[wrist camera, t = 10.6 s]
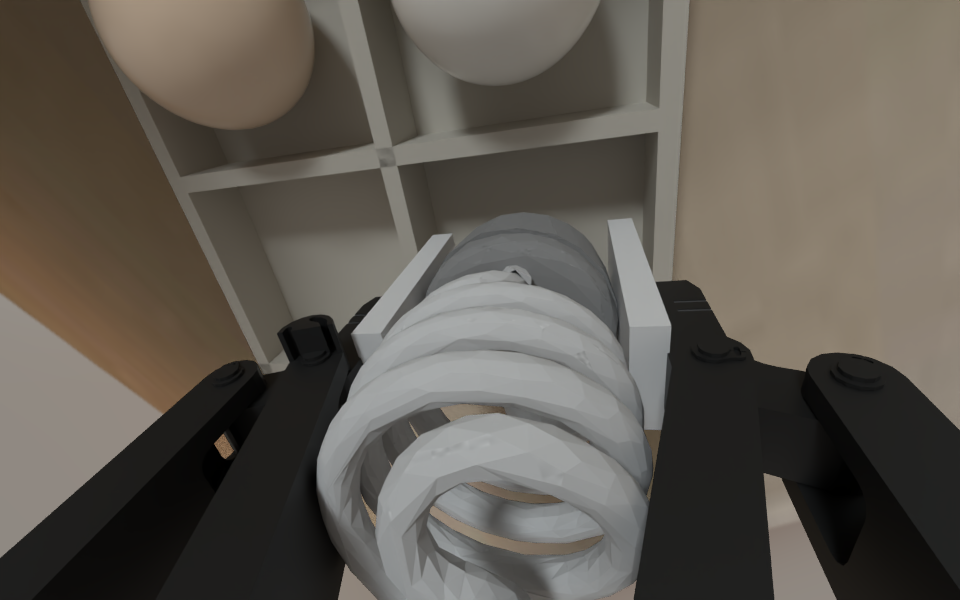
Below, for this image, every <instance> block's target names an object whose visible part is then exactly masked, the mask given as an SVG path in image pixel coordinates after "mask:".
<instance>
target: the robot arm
mask: <svg viewBox="0 0 960 600" xmlns="http://www.w3.org/2000/svg"><path fill="white" fill-rule="evenodd" d="M607 228H608V276H609V279H610V282H611V285H612V288H613V291H614V294H615V297H616V300H617V315H618V326H617V338H616V339H617V341H618V342H619V344H620V345H621V347H622V348H623V352H624V355H625V359H626V363H627V366H628V370H629V372H630V374H631V375H632V377H633V378H634V380H635V382H636V385H637V387H638V389H639V392H640V396H641V400H642V403H643V407H644V430H661V436H660V442H659V448H658V454H657V460H656V466H655V472H654V479H653V485H652V491H651V497H650V503H649V509H648V515H647V521H646V527H645V533H644V539H643V545H642V552H641V558H640V564H639V570H638V576H637V582H636V588H635V594H634V600H774V590H773V579H772V567H771V556H770V544H769V532H768V521H767V509H766V497H765V486H764V474H763V473H766V474H770V475H773V476H777V477H780V478H782V481H783V483H784V485H785V487H786V490H787V492H788V494H789V496H790V498H791V501H792V503H793V505H794V507H795V509H796V512H797V514H798V516H799V518H800V520H801V523H802V525H803V527H804V529H805V531H806V533H807V536H808V538H809V540H810V542H811V544H812V547H813V549H814V551H815V553H816V555H817V558H818V560H819V562H820V564H821V566H822V568H823V571H824V573H825V575H826V577H827V579H828V582H829V584H830V586H831V588H832V590H833V593H834V595H835V597H836V599H837V600H960V430H959V429H958V428H957V427H956V426H955V425H954V424H953V423H952V422H951V421H950V420H949V419H948V418H947V417H946V416H945V415H944V414H943V413H942V412H941V411H940V410H939V409H938V408H937V407H936V406H935V405H934V404H933V403H932V402H931V401H930V400H929V399H928V398H927V397H926V396H925V395H924V394H923V393H922V392H921V391H920V390H919V389H918V388H917V387H916V386H915V385H914V384H913V383H912V382H911V381H910V380H909V379H908V378H907V377H906V376H904V375H903V374H902V373H900V372H899V371H897V370H896V369H895V368H893V367H891V366H889V365H887V364H884V363H882V362H880V361H878V360H875V359H872V358H869V357H866V356H865V357H864V356H862V355H856V354H847V353H828V354H821V355H819V356H816V357H814V358H812V359H811V360H810V362H809V364H808V365H807V368H806V372H804V371H799V370H793V369H787V368H781V367H776V366H771V365H767V364H763V363H760V362H757V361H755V360H754V358H753V356H752V354H751V351H750V350H749V349H748V348H747V347H746V346H744V345H743V344H742V343H740V342H738V341H736V340H733V339H731V338H729V337H727V336H726V335H725V333H724V331H723V329H722V327H721V326H720V324H719V322H718V320H717V318H716V317H715V315H714V313H713V311H712V310H711V308H710V306H709V304H708V302H707V301H706V299H705V297H704V295H703V293H702V291H701V290H700V288H698V287H696V286H695V285H693V284H692V283H690V282H689V281H687V280H680V281H660V282H655V280H654V277H653V275H652V272H651V269H650V266H649V264H648V261H647V258H646V256H645V253H644V250H643V247H642V245H641V242H640V239H639V237H638V234H637V231H636V228H635V226H634V223H633V220H632V218H626V219H614V220H607ZM454 248H455V243H454V238H453V233H450V234H439V235H432V237H431V238H430V239H429V240H428V241H427V243H426V244H425V245H424V246H423V247H422V249H421V250H420V251H419V252H418V254H417V255H416V256H415V257H414V258H413V260H412V261H411V262H410V263H409V264H408V266H407V267H406V268H405V269H404V270H403V272H402V273H401V274H400V275H399V276H398V278H397V279H396V280H395V281H394V283H393V284H392V285H391V286H390V287H389V289H388V290H387V291H386V292H385V293H384V295H383V296H382V297H375V298H373V299H372V300H370V301H369V302H367V303H366V304H364V305H363V306H362V307H361V308H360V309H359V310H358V311H357V313H356V314H355V316H353V317H352V318H351V319H350V320H349V323H348V324H346V325H345V326H344V327H343V328H342V330H341V331H340V332H339V333H338V332H337V329H336V326H335V324H334V321H333V319H332V318H331V317H330V316H328V315H323V314H319V315H311V316H307V317H303V318H300V319H298V320H295V321H293V322H291V323H289V324H288V325H286V326H284V327H283V328H282V329H281V330H280V331H279V332H278V333H277V335H278V338H279V340H280V342H281V344H282V347H283V349H284V351H285V353H286V356H287V358H288V360H289V364H288V366H287V367H286V369H285V370H284V371H279V372H275V373H270V374H265V375H263V374H262V372H261V370H260V368H259V366H258V364H257V363H255V362H254V361H249V360H244V361H235V362H231V364H230V363H228V364H226V365H223V366H222V367H221V368H219V369H217V370H215V371H214V372H212V373H211V374H210V375H208V376H207V377H205V378H204V379H203V380H202V381H201V382H200V383H199V384H198V385H196V386H195V387H194V388H193V389H192V390H191V391H190V392H188V393H187V394H186V395H185V396H184V397H183V398H182V399H180V400H179V401H178V402H177V403H176V404H175V405H174V406H173V407H171V408H170V409H169V410H168V411H167V412H166V413H165V414H163V415H162V416H161V417H160V418H159V419H158V420H157V421H155V422H154V423H153V424H152V425H151V426H150V427H149V428H148V429H147V430H145V431H144V432H143V433H142V434H141V435H140V436H138V437H137V438H136V439H135V440H134V441H133V442H132V443H130V444H129V445H128V446H127V447H126V448H125V449H124V450H123V451H122V452H120V453H119V454H118V455H117V456H116V457H115V458H113V459H112V460H111V461H110V462H109V463H108V464H107V465H105V466H104V467H103V468H102V469H101V470H100V471H99V472H98V473H96V474H95V475H94V476H93V477H92V478H91V479H90V480H89V481H87V482H86V483H85V484H84V485H83V486H82V487H80V488H79V489H78V490H77V491H76V492H75V493H74V494H73V495H71V496H70V497H69V498H68V499H67V500H66V501H65V502H63V503H62V504H61V505H60V506H59V507H58V508H57V509H56V510H54V511H53V512H52V513H51V514H50V515H49V516H48V517H46V518H45V519H44V520H43V521H42V522H41V523H40V524H38V525H37V526H36V527H35V528H34V529H33V530H32V531H31V532H30V533H28V534H27V535H26V536H25V537H24V538H23V539H21V540H20V541H19V542H18V543H17V544H16V545H15V546H14V547H12V548H11V549H10V550H9V551H8V552H7V553H5V554H4V555H3V556H2V557H1V558H0V600H338V596H339V591H340V586H341V581H342V577H343V571H344V567H345V561H344V560H343V558H342V557H341V555H340V554H339V552H338V551H337V549H336V548H335V546H334V545H333V543H332V542H331V540H330V537H329V534H328V532H327V529H326V526H325V524H324V521H323V518H322V514H321V511H320V506H319V501H318V497H317V492H316V478H317V459H318V455H319V452H320V449H321V445H322V442H323V440H324V437H325V435H326V433H327V430H328V428H329V425H330V423H331V421H332V420H333V419H334V417H335V416H336V414H337V413H338V412H339V410H340V409H341V407H342V406H343V405H344V404H345V403H346V402H347V398H348V394H349V391H350V388H351V385H352V383H353V381H354V379H355V377H356V375H357V374H358V372H359V370H360V368H361V367H362V366H363V365H364V363H365V362H366V361H367V360H368V359H369V357H370V356H371V355H372V354H373V353H374V351H375V350H376V349H377V348H378V347H379V346H380V344H381V343H382V341H383V339H384V337H385V336H386V334H387V333H388V332H389V330H390V329H391V328H392V327H393V326H394V324H395V323H396V322H397V321H398V320H399V319H400V318H401V317H402V316H403V315H404V314H406V313H407V312H408V311H410V310H411V309H413V308H414V307H415V306H417V305H418V304H419V303H421V302H422V301H423V300H424V299H425V297H426V293H427V290H428V288H429V285H430V283H431V281H432V280H433V278H434V276H435V274H436V273H437V271H438V269H439V268H440V266H441V264H442V263H443V261H444V259H445V258H446V256H447V254H448V253H449V252H450V251H451V250H452V249H454ZM408 421H409V420H408ZM223 433H224V435H225V437H226V438H227V440H228V442H229V443H230V445H231V447H232V448H233V450H234V451H233V453H232V454H231V455H230V456H229V457H227V458H226V459H224V458H223V457H222V456H221V454H220V453H219V451H218V450H217V448H216V446H215V445H214V443H215V442H216V441H217V440H218V439H219V438H220V436H221V435H222V434H223Z"/></svg>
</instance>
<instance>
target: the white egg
mask: <svg viewBox="0 0 960 600" xmlns="http://www.w3.org/2000/svg"><path fill="white" fill-rule="evenodd" d="M391 2H392V5H393V7H394V10H395V13H396V15H397V17H398V19H399V21H400V23H401V25H402V27H403V28H404V30H405V31H406V33H407V34H408V36H409V38H410V39H411V40H412V42H413V43H414V44H415V45H416V46H417V48H418V49H419V50H420V51H421V52H422V53H423V54H424V55H425V56H426V57H427V58H428V59H429V60H430V61H431V62H432V63H433V64H435V65H436V66H437V67H439V68H440V69H441V70H443V71H444V72H446V73H448V74H450V75H452V76H453V77H455V78H458V79H460V80H463V81H466V82H469V83H474V84H478V85H484V86H504V85H511V84H515V83H519V82H523V81H525V80H528V79H530V78H533V77H535V76H537V75H539V74H541V73H542V72H544V71H546V70H547V69H549V68H550V67H551V66H553V65H554V64H555V63H557V62H558V61H559V60H560V59H561V58H562V57H563V56H565V55H566V54H567V53H568V52H569V51H570V50H571V48H572V47H573V46H574V45H575V44H576V42H577V41H578V40H579V39H580V37H581V36H582V34H583V33H584V31H585V30H586V28H587V27H588V25H589V24H590V22H591V20H592V18H593V16H594V14H595V12H596V10H597V8H598V6H599V3H600V0H391Z"/></svg>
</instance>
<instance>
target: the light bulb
mask: <svg viewBox="0 0 960 600" xmlns="http://www.w3.org/2000/svg"><path fill="white" fill-rule="evenodd" d="M617 326H618V315H617V300H616V297H615V294H614V291H613V288H612V285H611V282H610V279H609V276H608V273H607V270H606V267H605V266H604V264H603V262H602V260H601V259H600V257H599V255H598V254H597V252H596V250H595V249H594V247H593V245H592V244H591V242H590V241H589V240H588V239H587V238H586V237H585V236H584V235H583V234H582V233H581V232H579V231H578V230H577V229H575V228H574V227H572V226H571V225H569V224H568V223H566V222H563V221H561V220H558V219H556V218H553V217H551V216H548V215H542V214H534V213H526V212H522V213H514V214H507V215H500V216H498V217H496V218H494V219H492V220H490V221H488V222H486V223H484V224H482V225H480V226H478V227H476V228H475V229H474V230H473V231H472V232H471V233H470V234H469V235H468V236H467V237H465V238H464V239H463V240H462V241H461V242H460V243H459V244H458V245H457V246H456V247H455V248H454V249H452V250H451V251H450V252H449V253H448V254H447V256H446V258H445V259H444V261H443V263H442V264H441V266H440V268H439V269H438V271H437V273H436V274H435V276H434V278H433V280H432V281H431V283H430V285H429V288H428V290H427V293H426V297H425V299H424V300H423V301H422V302H421V303H419V304H418V305H417V306H415V307H414V308H413V309H411V310H410V311H408V312H407V313H406V314H404V315H403V316H402V317H401V318H400V319H399V320H398V321H397V322H396V323H395V324H394V326H393V327H392V328H391V329H390V330H389V332H388V333H387V334H386V336H385V337H384V339H383V341H382V343H381V344H380V346H379V347H378V348H377V349H376V350H375V351H374V353H373V354H372V355H371V356H370V357H369V359H368V360H367V361H366V362H365V363H364V365H363V366H362V367H361V368H360V370H359V372H358V374H357V375H356V377H355V379H354V381H353V383H352V385H351V388H350V391H349V394H348V398H347V402H346V403H345V404H344V405H343V406H342V407H341V409H340V410H339V412H338V413H337V414H336V416H335V417H334V419H333V420H332V421H331V423H330V425H329V428H328V430H327V433H326V435H325V437H324V440H323V442H322V445H321V449H320V452H319V455H318V459H317V478H316V492H317V497H318V501H319V506H320V511H321V514H322V518H323V521H324V524H325V526H326V529H327V532H328V534H329V537H330V540H331V542H332V543H333V545H334V546H335V548H336V549H337V551H338V552H339V554H340V555H341V557H342V558H343V560H344V561H345V563H346V564H347V566H348V568H349V569H350V571H351V572H352V573H353V574H354V575H355V576H356V577H357V578H358V579H359V580H360V581H361V582H362V583H363V585H365V587H366V588H367V589H368V590H369V591H370V592H371V593H372V594H373V595H374V596H375V597H376V598H377V599H378V600H596V599H600V598H604V597H609V596H611V595H613V594H615V593H616V592H618V591H620V590H622V589H624V588H626V587H627V586H629V585H631V584H633V583H634V582H635V581H636V580H637V576H638V570H639V564H640V558H641V552H642V545H643V539H644V533H645V527H646V521H647V515H648V509H649V503H650V502H649V500H648V498H647V496H646V495H647V492H648V489H649V486H650V482H651V479H652V476H653V462H652V450H651V448H650V446H649V443H648V441H647V438H646V436H645V433H644V431H643V430H644V407H643V403H642V400H641V396H640V392H639V389H638V387H637V385H636V382H635V380H634V378H633V377H632V375H631V374H630V372H629V370H628V366H627V363H626V359H625V355H624V352H623V348H622V347H621V345H620V344H619V342H618V341H617V339H616V338H617ZM457 404H474V405H487V406H501V407H503V408H504V409H505V412H506V414H507V415H505V414H500V413H492V414H480V415H468V416H464V417H462V418H459V419H457V420H455V421H452V422H451V421H450V420H449V419H448V418H447V417H446V416H445V414H444V413H443V412H442V410H441V409H440V408H441V407H446V406H451V405H457ZM408 420H409V421H408ZM409 422H410V423H411V425H412V426H413V428H414V429H415V431H416V432H417V434H418V435H419V437H418V438H417V437H416V436H415V434H414V432H413V430H412V428H411V427H410V424H409ZM587 441H590V443H589V444H588V443H587ZM388 460H389V461H390V463H391V464H392V468H391V466H390V463H389V461H388ZM479 481H481V482H484V483H488V484H491V485H494V486H497V487H500V488H503V489H506V490H510V491H513V492H522V493H532V494H541V495H551V496H554V497H556V498H558V499H560V500H562V501H564V502H560V503H539V504H532V503H525V502H519V501H512V500H507V499H504V498H501V497H498V496H495V495H492V494H489V493H485V492H483V491H481V490H479V489H477V488H475V487H473V486H471V485H469V484H467V482H479ZM361 494H362V496H363V498H364V500H365V502H366V504H367V505H368V506H369V507H370V509H371V510H372V511H373V512H374V514H375V515H376V516H377V518H376V528H375V526H374V525H373V523H372V522H371V520H370V517H369V515H368V512H367V510H366V508H365V505H364V503H363V500H362V496H361ZM432 506H435V507H437V508H438V509H440V510H441V511H443V512H445V513H446V514H448V515H449V516H451V517H453V518H454V519H456V520H458V521H460V522H463V523H465V524H467V525H469V526H472V527H474V528H476V529H478V530H481V531H483V532H486V533H489V534H493V535H497V536H500V537H504V538H508V539H512V540H515V541H524V542H532V543H571V542H575V541H579V540H583V539H587V538H591V537H595V536H599V535H603V534H605V535H604V537H603V538H602V540H601V541H600V542H598V543H596V544H595V545H593V546H591V547H590V548H588V549H587V550H583V551H580V552H576V553H572V554H568V555H524V554H520V553H516V552H512V551H509V550H505V549H501V548H497V547H493V546H489V545H485V544H482V543H480V542H478V541H476V540H474V539H472V538H470V537H467V536H465V535H463V534H461V533H459V532H457V531H455V530H453V529H451V528H450V527H448V526H447V525H445V524H444V523H442V522H441V521H439V520H438V519H436V518H435V517H433V516H432V515H431V514H430V513H429V512H430V508H431V507H432Z"/></svg>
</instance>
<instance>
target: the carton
mask: <svg viewBox="0 0 960 600" xmlns="http://www.w3.org/2000/svg"><path fill="white" fill-rule="evenodd" d="M80 1H81V3H82V5H83V7H84V10H85V12H86V14H87V16H88V18H89V20H90V22H91V24H92V26H93V28H94V30H95V32H96V34H97V36H98V38H99V40H100V42H101V44H102V46H103V48H104V50H105V52H106V54H107V56H108V58H109V61H110V63H111V65H112V67H113V69H114V71H115V73H116V75H117V77H118V79H119V81H120V83H121V85H122V87H123V89H124V91H125V93H126V95H127V97H128V99H129V101H130V103H131V105H132V107H133V109H134V111H135V114H136V116H137V118H138V120H139V122H140V124H141V126H142V128H143V130H144V132H145V134H146V136H147V138H148V140H149V142H150V144H151V146H152V148H153V150H154V152H155V154H156V156H157V158H158V160H159V162H160V165H161V167H162V169H163V171H164V173H165V175H166V177H167V179H168V181H169V183H170V185H171V187H172V189H173V191H174V193H175V195H176V197H177V199H178V201H179V203H180V205H181V207H182V209H183V211H184V213H185V216H186V218H187V220H188V222H189V224H190V226H191V228H192V230H193V232H194V234H195V236H196V238H197V240H198V242H199V244H200V246H201V248H202V250H203V252H204V254H205V256H206V258H207V260H208V262H209V264H210V266H211V269H212V271H213V273H214V275H215V277H216V279H217V281H218V283H219V285H220V287H221V289H222V291H223V293H224V295H225V297H226V299H227V301H228V303H229V305H230V307H231V309H232V311H233V313H234V315H235V317H236V320H237V322H238V324H239V326H240V328H241V330H242V332H243V334H244V336H245V338H246V340H247V342H248V344H249V346H250V348H251V350H252V352H253V354H254V356H255V358H256V360H257V362H258V364H259V366H260V368H261V370H262V373H263V374H270V373H275V372H279V371H284V370H285V369H286V367H287V366H288V364H289V360H288V358H287V356H286V353H285V351H284V349H283V347H282V344H281V342H280V340H279V338H278V335H277V333H278V332H279V331H280V330H281V329H282V328H283V327H284V326H286V325H288V324H289V323H291V322H293V321H295V320H298V319H300V318H303V317H307V316H311V315H319V314H323V315H328V316H330V317H331V318H332V319H333V321H334V324H335V326H336V329H337V332H338V333H339V332H340V331H341V330H342V328H343V327H344V326H345V325H346V324H348V323H349V320H350V319H351V318H352V317H353V316H355V314H356V313H357V311H358V310H359V309H360V308H361V307H362V306H363V305H364V304H366V303H367V302H369V301H370V300H372V299H373V298H375V297H382V296H383V295H384V293H385V292H386V291H387V290H388V289H389V287H390V286H391V285H392V284H393V283H394V281H395V280H396V279H397V278H398V276H399V275H400V274H401V273H402V272H403V270H404V269H405V268H406V267H407V266H408V264H409V263H410V262H411V261H412V260H413V258H414V257H415V256H416V255H417V254H418V252H419V251H420V250H421V249H422V247H423V246H424V245H425V244H426V243H427V241H428V240H429V239H430V238H431V237H432V235H439V234H450V233H453V238H454V243H455V247H456V246H457V245H458V244H459V243H460V242H461V241H462V240H463V239H464V238H465V237H467V236H468V235H469V234H470V233H471V232H472V231H473V230H474V229H475V228H476V227H478V226H480V225H482V224H484V223H486V222H488V221H490V220H492V219H494V218H496V217H498V216H500V215H507V214H514V213H522V212H526V213H534V214H542V215H548V216H551V217H553V218H556V219H558V220H561V221H563V222H566V223H568V224H569V225H571V226H572V227H574V228H575V229H577V230H578V231H579V232H581V233H582V234H583V235H584V236H585V237H586V238H587V239H588V240H589V241H590V242H591V244H592V245H593V247H594V249H595V250H596V252H597V254H598V255H599V257H600V259H601V260H602V262H603V264H604V266H605V267H606V270H607V273H608V228H607V220H614V219H626V218H632V220H633V223H634V226H635V228H636V231H637V234H638V237H639V239H640V242H641V245H642V247H643V250H644V253H645V256H646V258H647V261H648V264H649V266H650V269H651V272H652V275H653V277H654V280H655V282H660V281H672V271H673V255H674V239H675V223H676V207H677V191H678V176H679V160H680V144H681V128H682V112H683V96H684V80H685V65H686V49H687V33H688V17H689V1H690V0H600V3H599V6H598V8H597V10H596V12H595V14H594V16H593V18H592V20H591V22H590V24H589V25H588V27H587V28H586V30H585V31H584V33H583V34H582V36H581V37H580V39H579V40H578V41H577V42H576V44H575V45H574V46H573V47H572V48H571V50H570V51H569V52H568V53H567V54H566V55H565V56H563V57H562V58H561V59H560V60H559V61H558V62H557V63H555V64H554V65H553V66H551V67H550V68H549V69H547V70H546V71H544V72H542V73H541V74H539V75H537V76H535V77H533V78H530V79H528V80H525V81H523V82H519V83H515V84H511V85H504V86H484V85H478V84H474V83H469V82H466V81H463V80H460V79H458V78H455V77H453V76H452V75H450V74H448V73H446V72H444V71H443V70H441V69H440V68H439V67H437V66H436V65H435V64H433V63H432V62H431V61H430V60H429V59H428V58H427V57H426V56H425V55H424V54H423V53H422V52H421V51H420V50H419V49H418V48H417V46H416V45H415V44H414V43H413V42H412V40H411V39H410V38H409V36H408V34H407V33H406V31H405V30H404V28H403V27H402V25H401V23H400V21H399V19H398V17H397V15H396V13H395V10H394V7H393V5H392V2H391V0H304V1H305V3H306V6H307V9H308V12H309V15H310V18H311V22H312V27H313V33H314V40H315V57H314V65H313V71H312V74H311V77H310V80H309V83H308V86H307V88H306V90H305V92H304V94H303V95H302V97H301V98H300V100H299V101H298V102H297V103H296V105H295V106H294V107H293V108H292V109H291V110H290V111H289V112H287V113H286V114H285V115H283V116H282V117H280V118H279V119H277V120H275V121H273V122H271V123H269V124H266V125H263V126H260V127H256V128H252V129H242V130H227V129H217V128H212V127H208V126H204V125H200V124H197V123H194V122H191V121H189V120H186V119H184V118H182V117H180V116H178V115H176V114H174V113H172V112H170V111H168V110H167V109H165V108H163V107H162V106H160V105H159V104H157V103H156V102H155V101H153V100H152V99H150V98H149V97H148V96H147V95H145V94H144V93H143V92H142V91H141V90H140V89H139V88H138V87H136V86H135V85H134V84H133V83H132V82H131V81H130V80H129V78H128V77H127V76H126V75H125V74H124V73H123V72H122V71H121V69H120V68H119V67H118V66H117V64H116V63H115V62H114V60H113V59H112V57H111V56H110V54H109V53H108V51H107V49H106V48H105V46H104V44H103V42H102V40H101V38H100V36H99V34H98V32H97V29H96V27H95V24H94V21H93V19H92V16H91V12H90V8H89V4H88V0H80Z"/></svg>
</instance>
